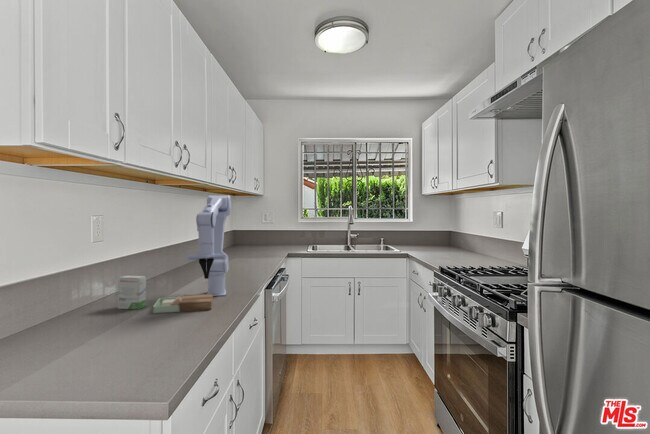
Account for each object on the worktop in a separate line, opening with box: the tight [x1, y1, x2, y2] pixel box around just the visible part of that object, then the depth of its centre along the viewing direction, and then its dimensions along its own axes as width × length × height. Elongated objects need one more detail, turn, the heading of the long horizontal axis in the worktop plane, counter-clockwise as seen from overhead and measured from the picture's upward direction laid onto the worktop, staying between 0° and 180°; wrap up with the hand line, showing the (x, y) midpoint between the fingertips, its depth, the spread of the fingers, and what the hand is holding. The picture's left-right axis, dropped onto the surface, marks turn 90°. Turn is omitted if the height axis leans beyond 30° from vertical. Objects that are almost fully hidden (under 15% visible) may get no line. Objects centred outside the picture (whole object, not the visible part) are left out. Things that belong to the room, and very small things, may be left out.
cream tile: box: [162, 299, 175, 306], centre depth 140 cm, size 4×4×2 cm
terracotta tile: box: [169, 296, 182, 305], centre depth 135 cm, size 4×4×2 cm
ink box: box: [117, 275, 147, 310], centre depth 138 cm, size 9×5×12 cm, turn 84°
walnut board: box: [179, 293, 214, 313], centre depth 140 cm, size 13×11×3 cm
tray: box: [152, 296, 183, 314], centre depth 138 cm, size 13×9×2 cm
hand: (206, 278), depth 142 cm, fingers closed
